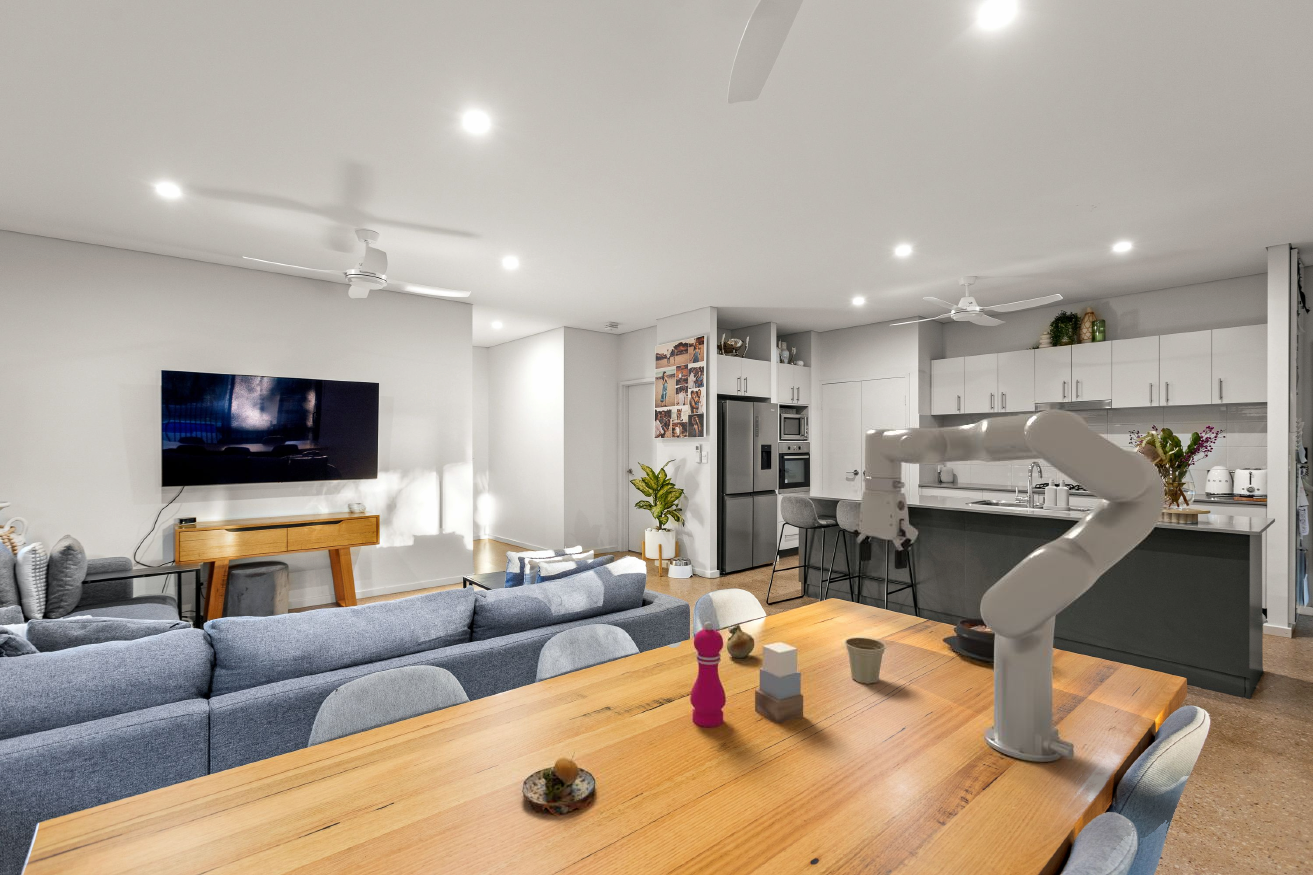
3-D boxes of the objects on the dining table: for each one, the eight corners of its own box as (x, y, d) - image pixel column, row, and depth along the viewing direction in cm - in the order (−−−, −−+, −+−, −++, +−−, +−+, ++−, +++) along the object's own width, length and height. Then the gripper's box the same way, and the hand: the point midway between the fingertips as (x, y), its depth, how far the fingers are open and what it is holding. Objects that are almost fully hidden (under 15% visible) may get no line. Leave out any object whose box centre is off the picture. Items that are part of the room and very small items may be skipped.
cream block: (797, 672, 131) (797, 648, 131) (779, 677, 129) (779, 652, 129) (780, 665, 136) (780, 641, 136) (762, 669, 133) (762, 645, 133)
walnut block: (803, 716, 131) (803, 695, 131) (777, 724, 127) (777, 702, 127) (780, 704, 137) (780, 683, 137) (754, 711, 133) (755, 690, 133)
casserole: (926, 646, 177) (926, 616, 177) (976, 639, 184) (977, 611, 184) (1002, 677, 154) (1002, 643, 154) (1057, 669, 160) (1057, 635, 160)
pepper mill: (723, 730, 124) (724, 627, 124) (687, 726, 126) (688, 625, 126) (727, 714, 131) (727, 618, 131) (692, 711, 133) (693, 615, 133)
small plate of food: (562, 768, 110) (562, 725, 110) (611, 792, 102) (611, 746, 102) (505, 797, 100) (506, 750, 100) (555, 826, 93) (555, 775, 93)
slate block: (800, 694, 131) (800, 672, 131) (778, 699, 128) (778, 677, 128) (781, 684, 137) (781, 663, 137) (759, 689, 134) (759, 668, 134)
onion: (722, 660, 164) (723, 629, 164) (728, 650, 172) (728, 621, 172) (752, 663, 162) (752, 632, 162) (756, 653, 170) (756, 623, 170)
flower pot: (891, 687, 147) (891, 650, 147) (850, 686, 147) (851, 649, 147) (878, 672, 156) (878, 637, 156) (840, 671, 156) (840, 637, 157)
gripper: (928, 487, 132) (928, 570, 132) (864, 483, 147) (864, 556, 147) (904, 488, 128) (903, 573, 128) (840, 483, 143) (840, 559, 143)
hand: (882, 564), depth 138 cm, fingers open, 9 cm apart
